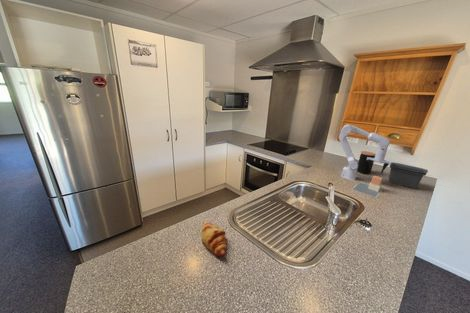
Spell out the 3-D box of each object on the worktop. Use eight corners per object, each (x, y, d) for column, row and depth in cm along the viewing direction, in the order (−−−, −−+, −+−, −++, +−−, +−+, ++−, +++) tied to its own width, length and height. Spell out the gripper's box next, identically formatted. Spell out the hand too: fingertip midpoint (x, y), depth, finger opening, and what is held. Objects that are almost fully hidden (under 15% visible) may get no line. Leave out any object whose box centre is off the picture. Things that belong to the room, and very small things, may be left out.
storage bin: (383, 181, 147) (388, 164, 143) (387, 176, 157) (392, 160, 153) (419, 192, 132) (427, 173, 128) (421, 185, 143) (428, 168, 138)
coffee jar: (369, 171, 166) (375, 152, 160) (370, 175, 157) (376, 155, 152) (356, 169, 171) (361, 150, 165) (356, 172, 163) (361, 153, 157)
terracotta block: (370, 183, 131) (372, 177, 129) (372, 181, 134) (374, 175, 133) (378, 186, 128) (381, 179, 126) (380, 184, 131) (382, 177, 129)
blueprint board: (350, 190, 130) (352, 184, 129) (359, 182, 143) (360, 177, 141) (376, 199, 120) (378, 192, 118) (382, 190, 133) (384, 184, 131)
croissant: (200, 233, 88) (191, 223, 84) (217, 220, 90) (210, 209, 86) (217, 269, 70) (208, 257, 66) (238, 251, 72) (230, 239, 69)
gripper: (367, 152, 137) (362, 169, 141) (392, 157, 127) (386, 175, 131) (369, 151, 142) (365, 167, 146) (393, 155, 132) (388, 173, 136)
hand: (375, 171), depth 139 cm, fingers open, 7 cm apart
